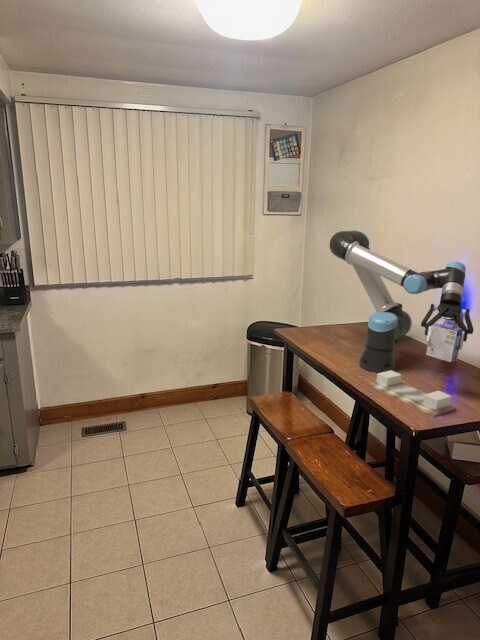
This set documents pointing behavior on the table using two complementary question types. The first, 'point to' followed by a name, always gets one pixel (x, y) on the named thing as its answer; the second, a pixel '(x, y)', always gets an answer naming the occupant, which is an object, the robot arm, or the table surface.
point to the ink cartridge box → (444, 341)
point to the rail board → (410, 397)
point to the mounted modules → (431, 399)
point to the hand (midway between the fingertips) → (443, 345)
